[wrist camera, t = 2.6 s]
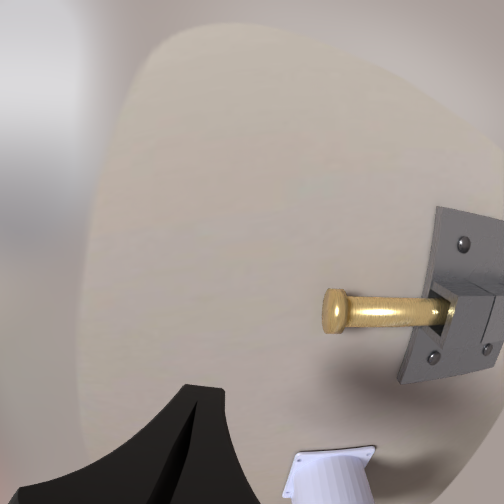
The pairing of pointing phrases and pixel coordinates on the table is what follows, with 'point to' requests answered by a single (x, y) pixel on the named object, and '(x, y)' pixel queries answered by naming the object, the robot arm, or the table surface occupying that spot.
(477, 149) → the table surface
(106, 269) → the table surface
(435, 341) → the hinge
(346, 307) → the pin
